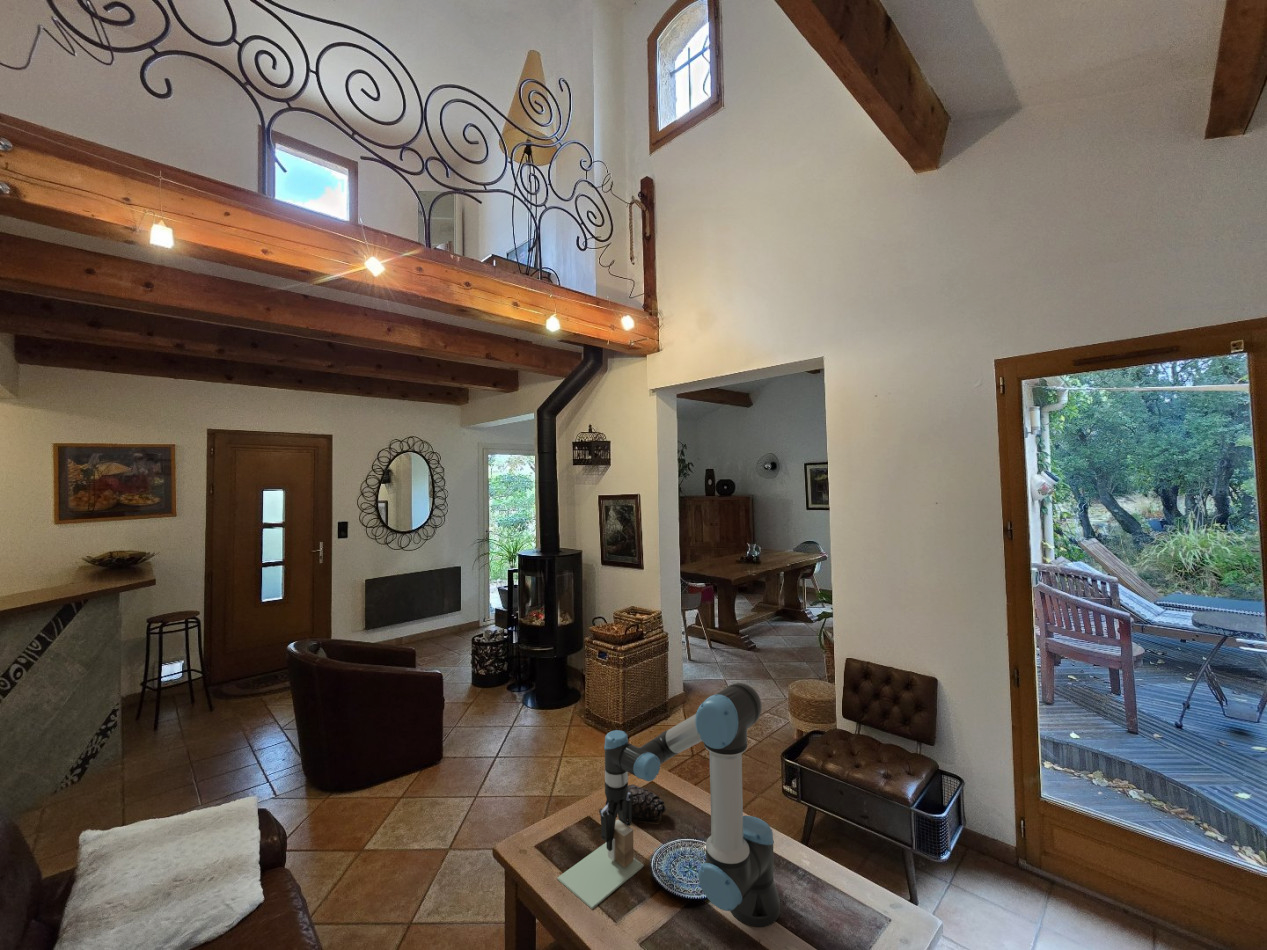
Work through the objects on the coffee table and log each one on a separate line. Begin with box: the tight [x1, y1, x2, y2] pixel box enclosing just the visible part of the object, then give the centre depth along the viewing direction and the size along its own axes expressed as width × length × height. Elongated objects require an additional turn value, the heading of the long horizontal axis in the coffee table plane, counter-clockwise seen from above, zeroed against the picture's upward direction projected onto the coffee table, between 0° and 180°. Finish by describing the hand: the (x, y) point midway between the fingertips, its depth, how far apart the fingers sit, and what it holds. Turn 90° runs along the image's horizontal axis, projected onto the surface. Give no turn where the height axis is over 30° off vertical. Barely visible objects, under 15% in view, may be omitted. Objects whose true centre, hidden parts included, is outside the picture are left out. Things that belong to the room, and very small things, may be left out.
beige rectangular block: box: [613, 819, 635, 868], centre depth 162 cm, size 7×4×10 cm, turn 46°
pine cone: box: [628, 784, 667, 825], centre depth 185 cm, size 10×18×10 cm, turn 77°
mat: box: [556, 841, 644, 910], centre depth 158 cm, size 16×22×1 cm
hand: (616, 854), depth 163 cm, fingers closed on beige rectangular block, 4 cm apart
